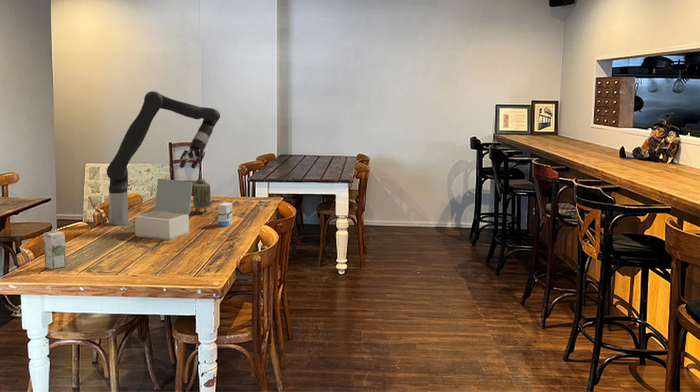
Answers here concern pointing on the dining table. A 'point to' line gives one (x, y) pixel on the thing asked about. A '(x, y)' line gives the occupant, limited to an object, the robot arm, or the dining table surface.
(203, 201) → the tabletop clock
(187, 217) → the storage box
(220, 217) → the ink box
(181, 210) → the lid
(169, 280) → the dining table surface
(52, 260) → the syrup box
